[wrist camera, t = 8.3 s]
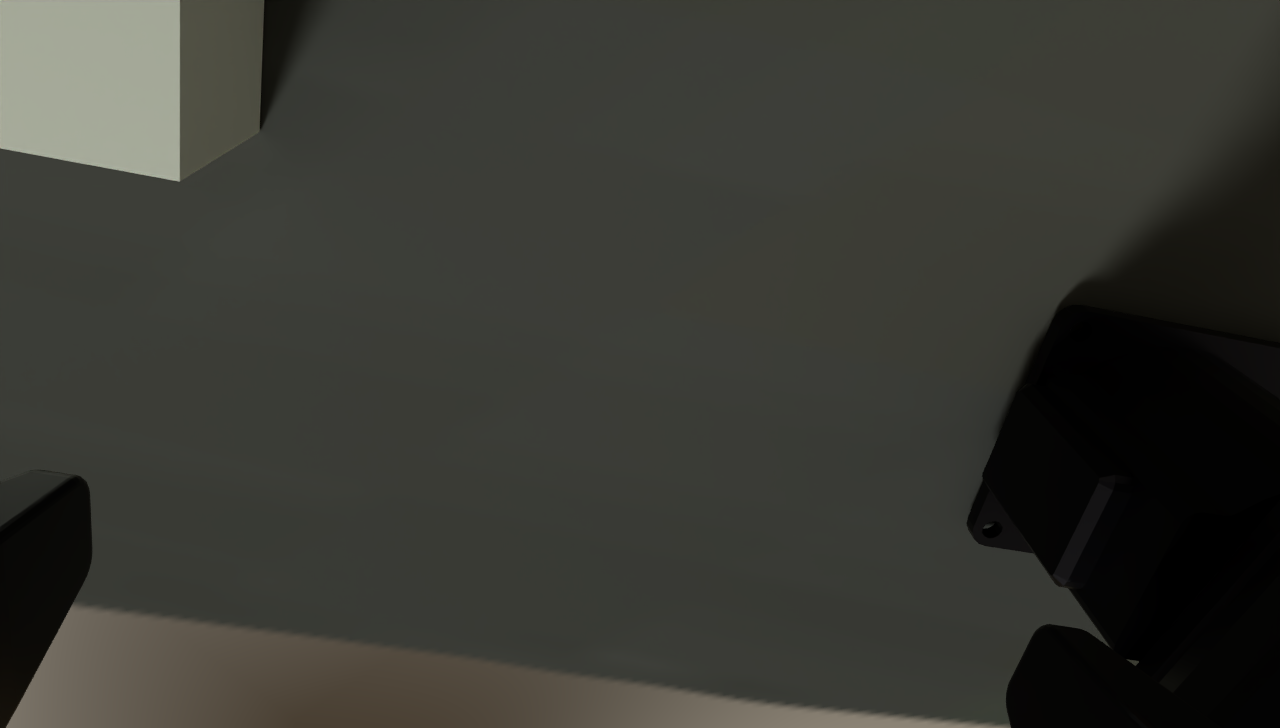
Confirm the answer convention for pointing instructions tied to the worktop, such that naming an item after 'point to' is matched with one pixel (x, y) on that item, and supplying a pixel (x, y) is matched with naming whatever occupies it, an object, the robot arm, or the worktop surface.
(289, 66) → the worktop surface
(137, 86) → the hole block
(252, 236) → the worktop surface
